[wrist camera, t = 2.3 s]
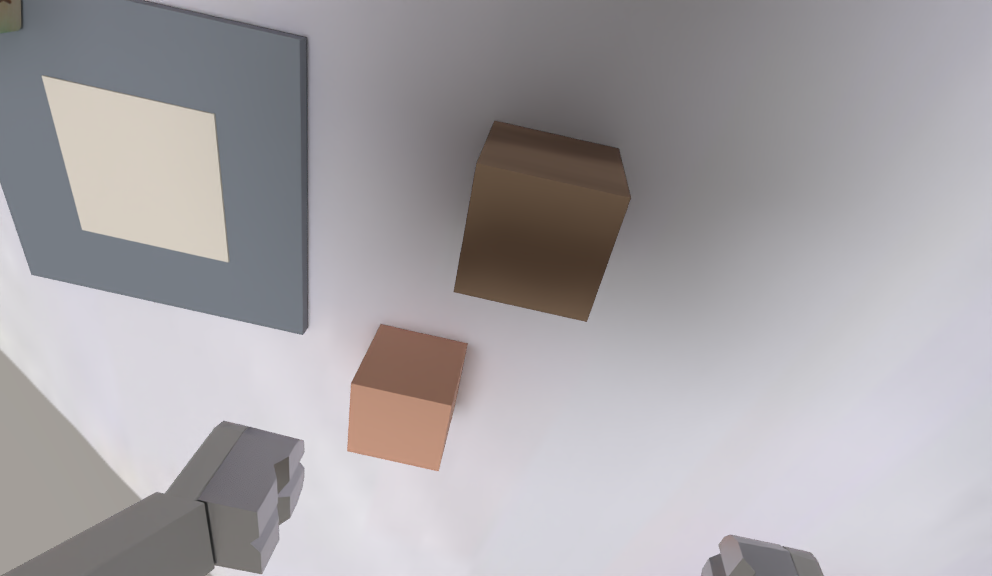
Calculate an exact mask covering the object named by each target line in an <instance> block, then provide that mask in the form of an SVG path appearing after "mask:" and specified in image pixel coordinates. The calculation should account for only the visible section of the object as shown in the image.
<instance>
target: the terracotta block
mask: <svg viewBox="0 0 992 576" xmlns="http://www.w3.org/2000/svg"><path fill="white" fill-rule="evenodd" d="M467 345H468V343H463V342H459V341H454V340H450V339H445V338H441V337H436V336H432V335H427V334H423V333H418V332H414V331H409V330H405V329H400V328H396V327H391V326H387V325H382V324H381V325H380V327H379V329H378V331H377V333H376V335H375V337H374V339H373V341H372V343H371V345H370V347H369V349H368V351H367V353H366V355H365V357H364V359H363V361H362V363H361V365H360V367H359V369H358V371H357V373H356V375H355V377H354V379H353V381H352V383H351V394H350V411H349V429H348V447H347V451H349V452H354V453H358V454H363V455H367V456H372V457H376V458H381V459H385V460H390V461H394V462H399V463H403V464H408V465H413V466H417V467H422V468H426V469H431V470H435V471H439V467H440V463H441V459H442V455H443V451H444V447H445V443H446V439H447V435H448V431H449V427H450V423H451V419H452V415H453V411H454V407H455V402H456V398H457V393H458V388H459V383H460V378H461V373H462V369H463V364H464V359H465V354H466V349H467Z"/></svg>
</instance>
